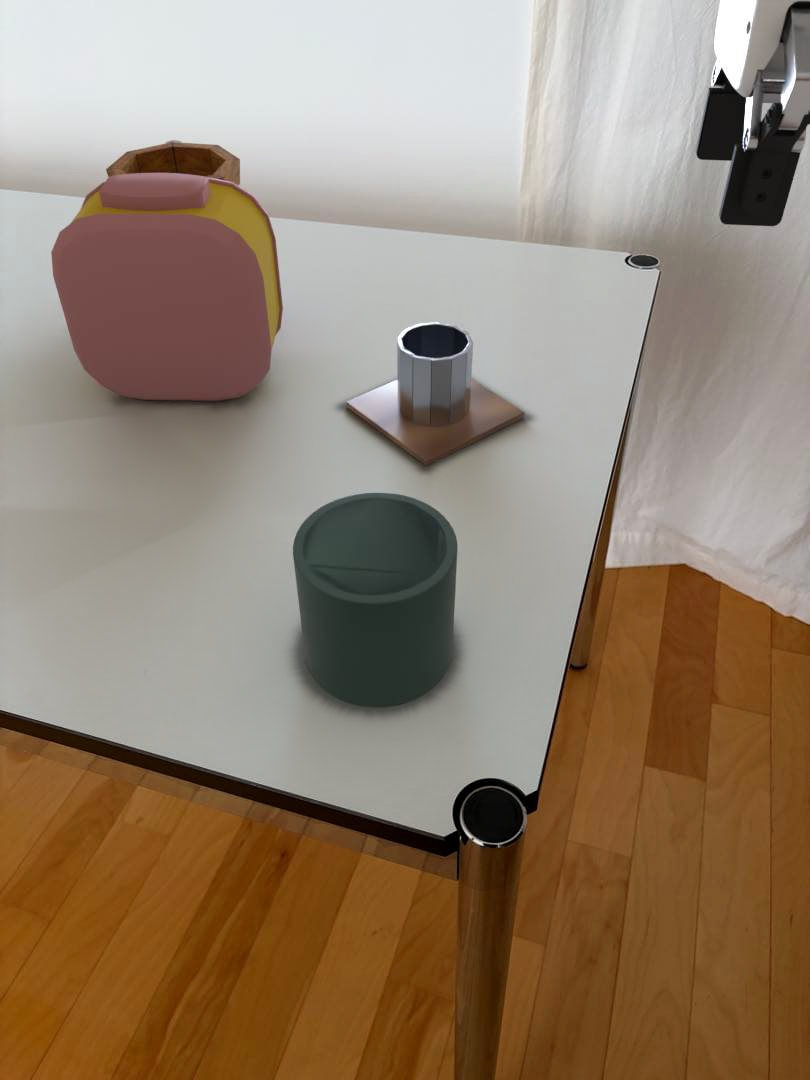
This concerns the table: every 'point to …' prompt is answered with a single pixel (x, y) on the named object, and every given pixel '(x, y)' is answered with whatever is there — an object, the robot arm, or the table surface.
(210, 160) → the mug
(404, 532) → the dark green cylinder
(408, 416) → the cup
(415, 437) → the coaster mat
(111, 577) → the table surface
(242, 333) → the alarm clock
